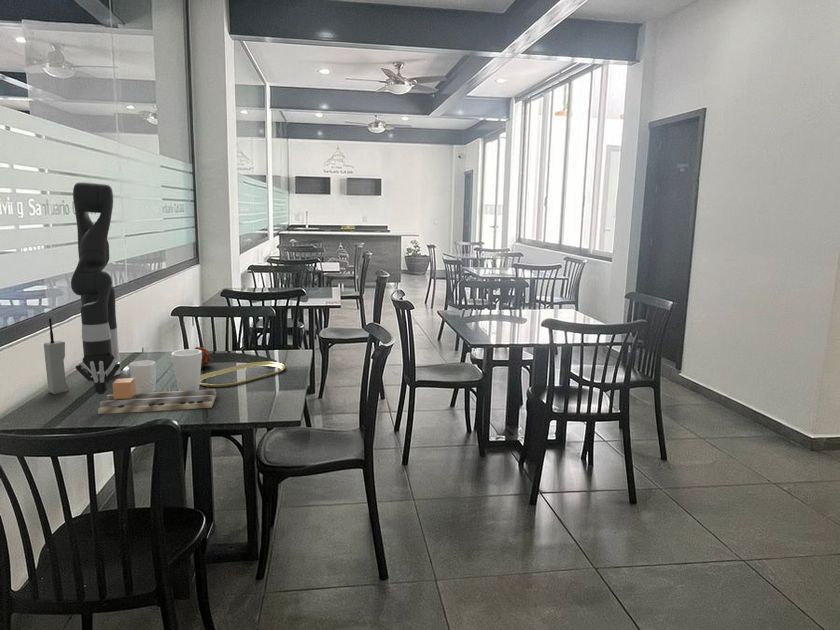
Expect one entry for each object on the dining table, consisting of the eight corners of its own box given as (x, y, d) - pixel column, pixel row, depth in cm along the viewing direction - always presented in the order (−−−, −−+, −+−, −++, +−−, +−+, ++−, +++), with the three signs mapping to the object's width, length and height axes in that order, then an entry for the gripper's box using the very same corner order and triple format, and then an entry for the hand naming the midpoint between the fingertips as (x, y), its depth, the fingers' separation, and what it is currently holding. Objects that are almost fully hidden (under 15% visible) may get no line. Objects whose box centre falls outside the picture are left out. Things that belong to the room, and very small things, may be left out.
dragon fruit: (205, 374, 228) (190, 373, 236) (220, 358, 233) (205, 357, 241) (190, 358, 224) (176, 358, 232) (205, 342, 228) (191, 342, 237)
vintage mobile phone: (69, 390, 201) (62, 317, 197) (53, 394, 197) (46, 319, 193) (64, 388, 203) (57, 316, 199) (48, 392, 199) (40, 318, 195)
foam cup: (179, 386, 207) (177, 349, 204) (207, 385, 207) (204, 349, 205) (170, 394, 197) (167, 355, 195) (198, 393, 198) (196, 355, 196)
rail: (98, 414, 178) (97, 404, 177) (110, 401, 189) (109, 392, 189) (211, 407, 184) (211, 398, 183) (216, 396, 196) (216, 387, 195)
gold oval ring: (184, 383, 212) (184, 378, 212) (262, 363, 240) (262, 359, 240) (218, 392, 201) (218, 387, 201) (295, 370, 230) (295, 366, 230)
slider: (114, 404, 181) (112, 383, 180) (118, 399, 186) (117, 378, 185) (131, 403, 182) (130, 382, 181) (136, 398, 187) (134, 377, 186)
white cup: (147, 396, 195) (145, 366, 193) (126, 395, 196) (123, 365, 195) (162, 389, 203) (160, 360, 201) (141, 388, 204) (139, 359, 202)
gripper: (123, 334, 185) (128, 389, 187) (77, 336, 182) (82, 391, 185) (116, 339, 177) (121, 396, 180) (67, 341, 175) (73, 398, 178)
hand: (101, 393), depth 183 cm, fingers closed
